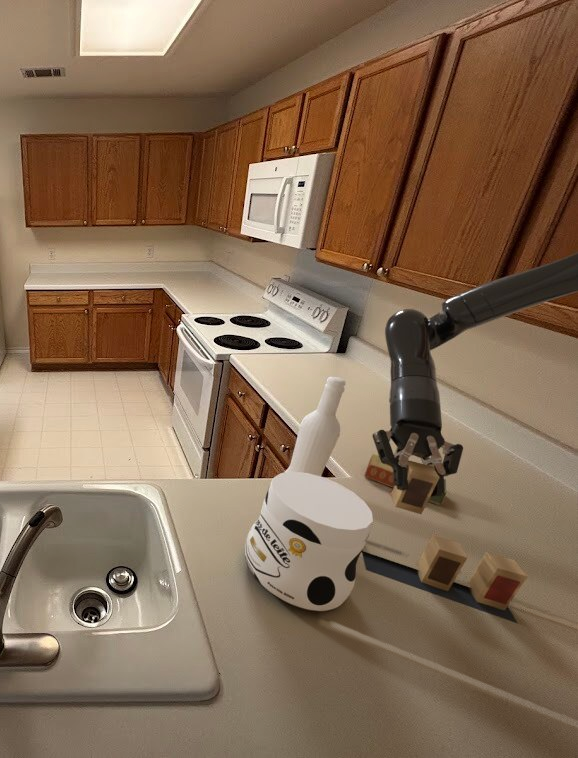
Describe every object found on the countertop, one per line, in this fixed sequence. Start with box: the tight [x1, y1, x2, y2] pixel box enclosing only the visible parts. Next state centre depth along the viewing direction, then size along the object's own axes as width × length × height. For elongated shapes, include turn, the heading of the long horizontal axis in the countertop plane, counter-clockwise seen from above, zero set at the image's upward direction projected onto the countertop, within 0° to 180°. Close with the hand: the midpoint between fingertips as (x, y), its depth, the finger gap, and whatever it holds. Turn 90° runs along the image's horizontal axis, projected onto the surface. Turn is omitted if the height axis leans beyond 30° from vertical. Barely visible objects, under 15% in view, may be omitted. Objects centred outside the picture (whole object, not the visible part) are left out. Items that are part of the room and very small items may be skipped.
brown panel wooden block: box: [415, 534, 468, 591], centre depth 75 cm, size 4×4×8 cm
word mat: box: [361, 550, 519, 625], centre depth 77 cm, size 22×8×1 cm, turn 64°
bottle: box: [283, 376, 346, 477], centre depth 95 cm, size 8×8×30 cm
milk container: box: [244, 471, 374, 612], centre depth 72 cm, size 17×17×18 cm
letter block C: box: [467, 552, 528, 610], centre depth 72 cm, size 4×4×8 cm
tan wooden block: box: [390, 459, 440, 515], centre depth 74 cm, size 4×4×8 cm
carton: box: [364, 453, 448, 507], centre depth 106 cm, size 8×16×4 cm, turn 50°
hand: (419, 492), depth 73 cm, fingers closed on tan wooden block, 4 cm apart
